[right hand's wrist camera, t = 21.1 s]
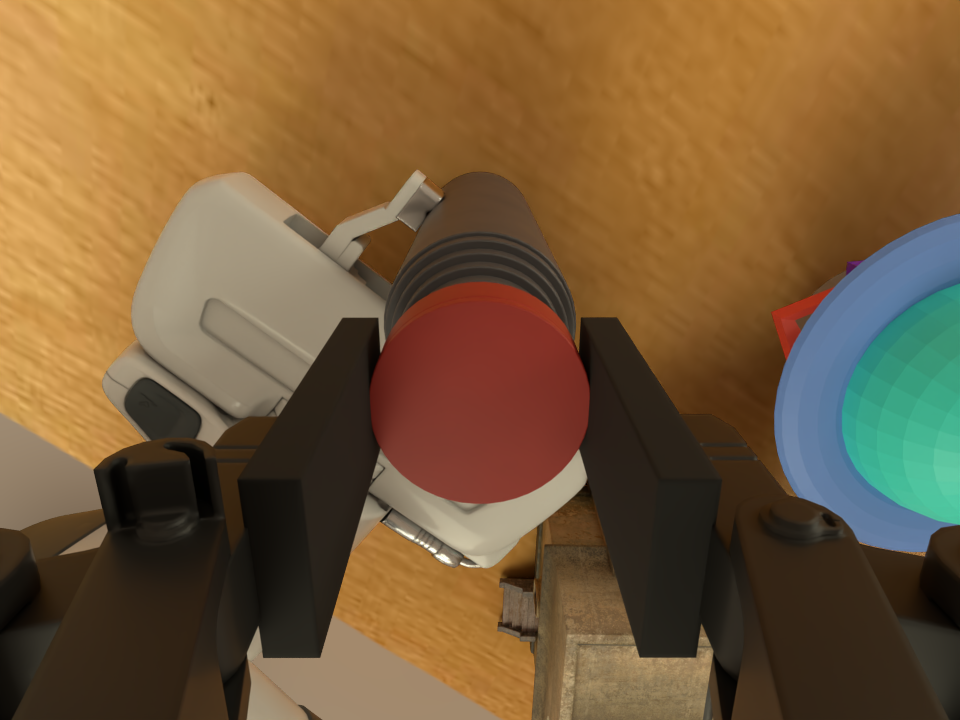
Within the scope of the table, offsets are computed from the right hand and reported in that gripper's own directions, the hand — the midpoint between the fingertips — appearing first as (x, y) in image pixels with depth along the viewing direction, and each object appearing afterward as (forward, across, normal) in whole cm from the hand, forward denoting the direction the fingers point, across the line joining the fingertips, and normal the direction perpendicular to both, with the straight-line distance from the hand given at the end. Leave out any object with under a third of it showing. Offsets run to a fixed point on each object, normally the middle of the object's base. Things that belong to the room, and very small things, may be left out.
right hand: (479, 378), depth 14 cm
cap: (-1, 0, 0) cm, 1 cm away
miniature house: (+20, -8, +21) cm, 30 cm away
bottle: (+20, 0, 0) cm, 20 cm away
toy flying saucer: (+20, -19, +5) cm, 29 cm away
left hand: (+14, 0, -1) cm, 14 cm away
